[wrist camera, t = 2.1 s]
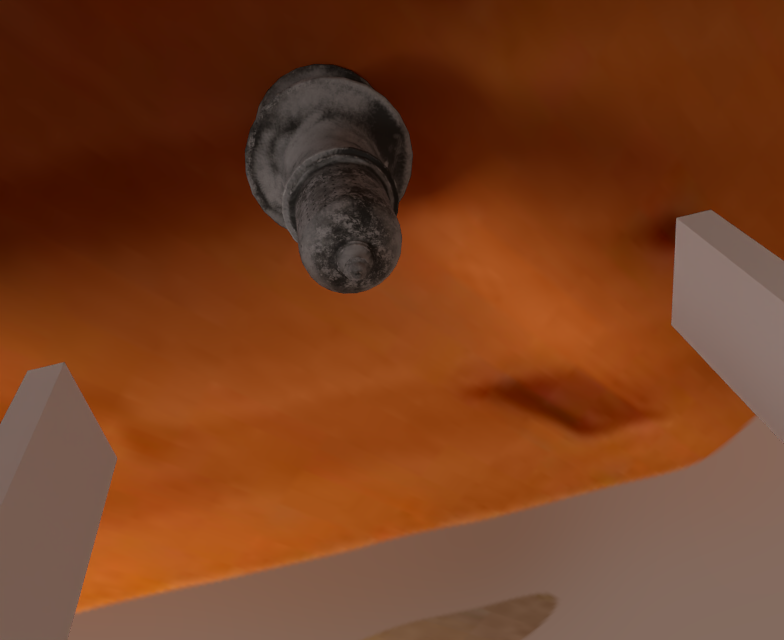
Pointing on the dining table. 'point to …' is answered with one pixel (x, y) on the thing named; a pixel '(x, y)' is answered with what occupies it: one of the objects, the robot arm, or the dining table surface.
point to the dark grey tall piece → (332, 173)
